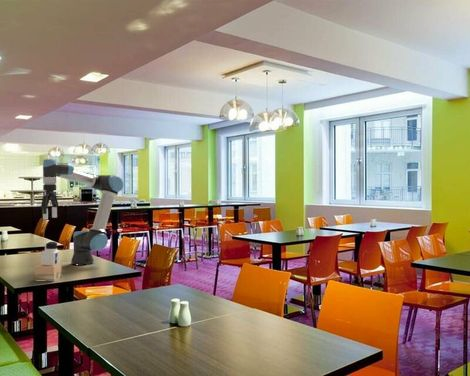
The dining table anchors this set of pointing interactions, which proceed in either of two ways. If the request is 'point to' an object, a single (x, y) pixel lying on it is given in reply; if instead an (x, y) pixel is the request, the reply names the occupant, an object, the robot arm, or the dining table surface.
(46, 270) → the tower top
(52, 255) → the container
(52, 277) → the tower bottom
